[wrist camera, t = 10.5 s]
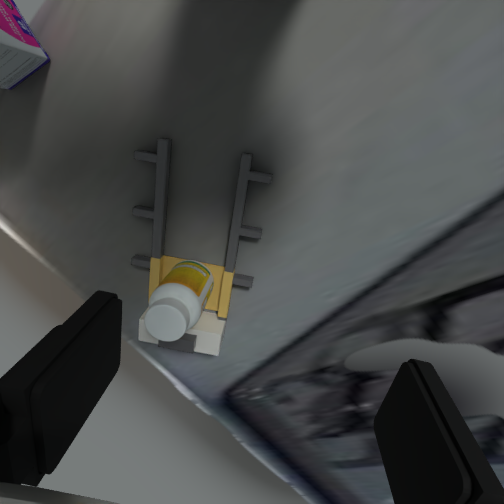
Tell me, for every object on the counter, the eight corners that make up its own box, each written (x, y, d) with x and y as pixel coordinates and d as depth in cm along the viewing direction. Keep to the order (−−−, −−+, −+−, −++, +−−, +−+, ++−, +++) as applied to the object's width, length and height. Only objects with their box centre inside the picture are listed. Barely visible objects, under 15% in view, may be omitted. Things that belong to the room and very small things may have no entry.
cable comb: (139, 134, 34) (115, 135, 29) (275, 158, 33) (274, 164, 28) (133, 317, 42) (113, 342, 37) (242, 339, 41) (236, 367, 37)
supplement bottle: (220, 294, 39) (201, 343, 30) (179, 302, 40) (149, 352, 31) (206, 253, 38) (182, 293, 29) (164, 263, 38) (127, 304, 30)
